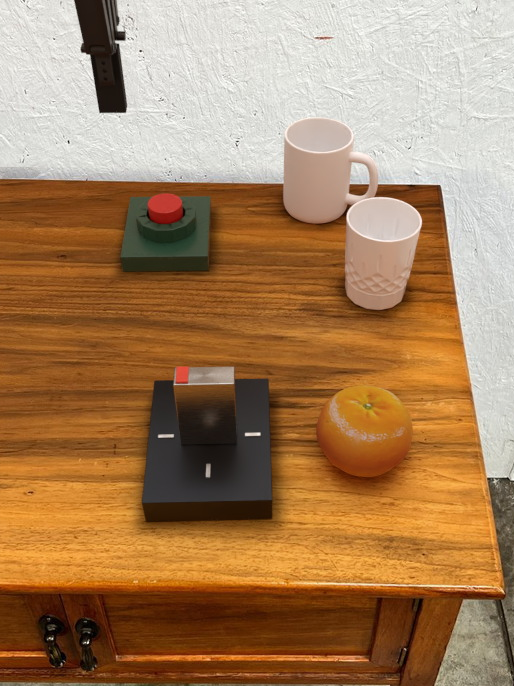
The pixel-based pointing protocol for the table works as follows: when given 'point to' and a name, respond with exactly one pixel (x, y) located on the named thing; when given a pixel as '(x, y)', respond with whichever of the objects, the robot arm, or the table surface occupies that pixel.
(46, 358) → the table surface
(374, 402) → the fruit
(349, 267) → the white cup
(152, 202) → the button
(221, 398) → the knob
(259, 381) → the panel
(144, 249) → the button block
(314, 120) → the cup
